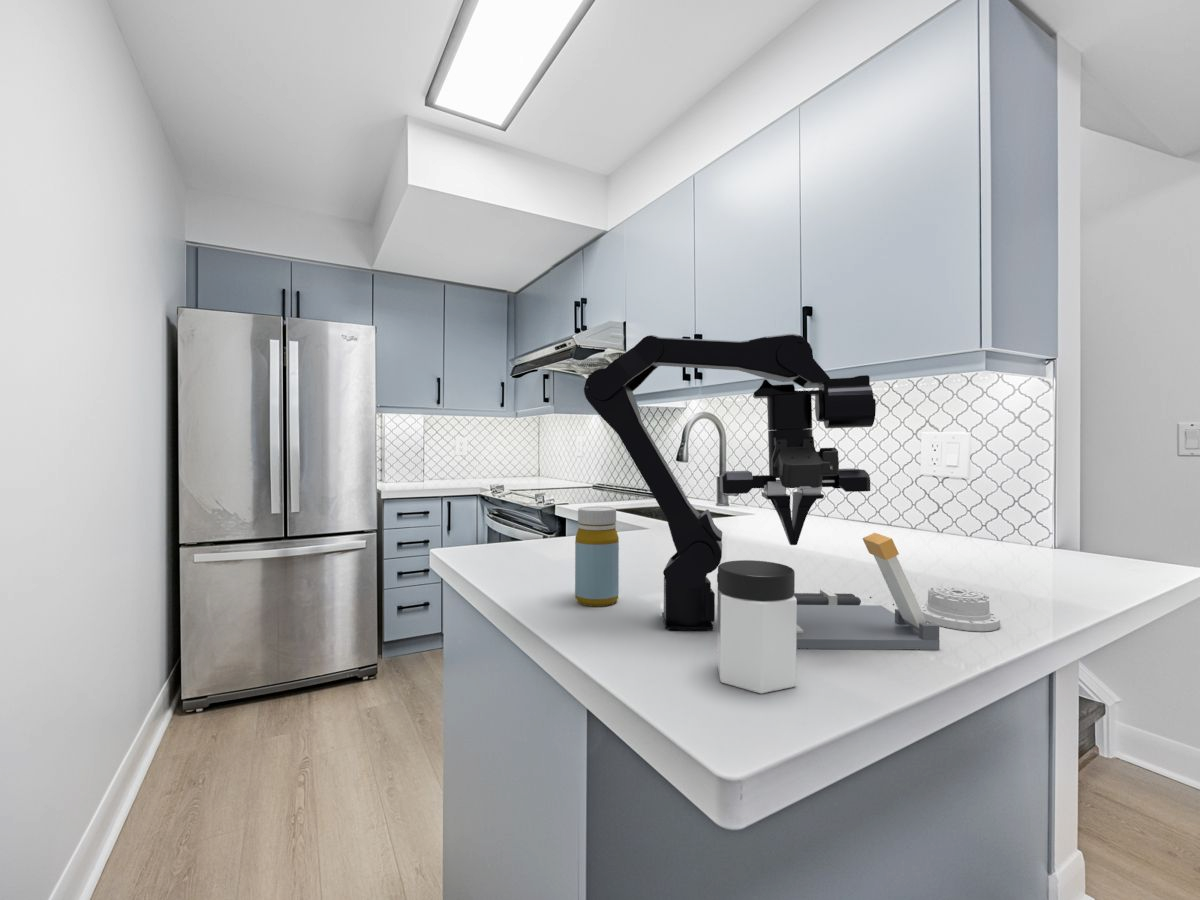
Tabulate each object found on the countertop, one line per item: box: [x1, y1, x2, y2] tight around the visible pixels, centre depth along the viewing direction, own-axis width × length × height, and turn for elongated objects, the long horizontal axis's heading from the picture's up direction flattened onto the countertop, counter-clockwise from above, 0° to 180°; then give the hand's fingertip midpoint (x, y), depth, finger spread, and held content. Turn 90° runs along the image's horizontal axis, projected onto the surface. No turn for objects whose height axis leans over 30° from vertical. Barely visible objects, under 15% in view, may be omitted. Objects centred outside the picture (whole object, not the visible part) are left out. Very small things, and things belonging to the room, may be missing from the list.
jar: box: [716, 559, 797, 694], centre depth 62 cm, size 9×8×12 cm
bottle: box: [574, 506, 620, 607], centre depth 91 cm, size 7×7×15 cm
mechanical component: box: [919, 586, 1001, 632], centre depth 82 cm, size 10×4×10 cm
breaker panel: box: [796, 604, 941, 651], centre depth 77 cm, size 21×15×3 cm
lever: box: [861, 532, 928, 631], centre depth 73 cm, size 2×5×13 cm, turn 179°
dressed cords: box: [794, 588, 862, 605], centre depth 90 cm, size 19×4×2 cm, turn 89°
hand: (793, 544), depth 76 cm, fingers closed
